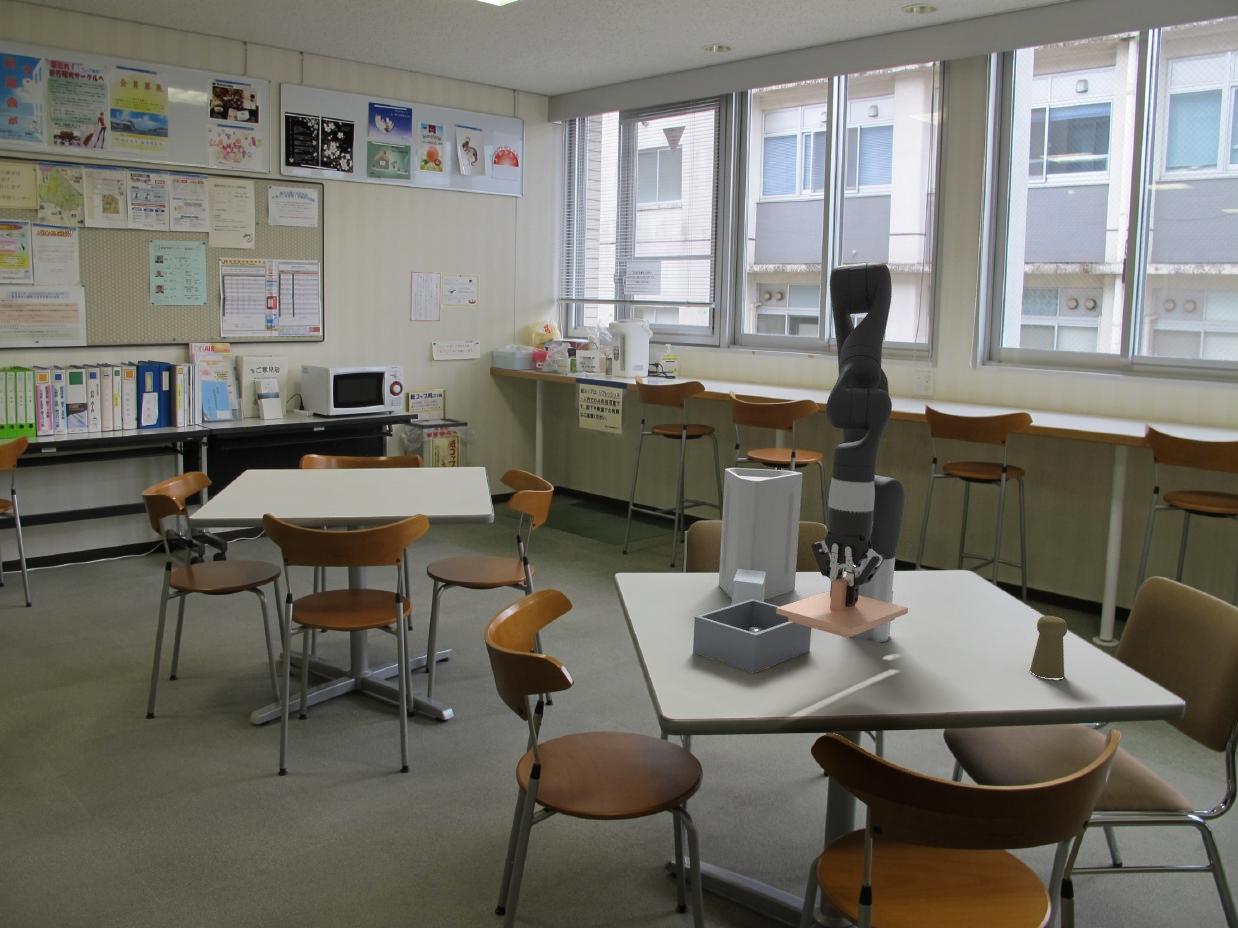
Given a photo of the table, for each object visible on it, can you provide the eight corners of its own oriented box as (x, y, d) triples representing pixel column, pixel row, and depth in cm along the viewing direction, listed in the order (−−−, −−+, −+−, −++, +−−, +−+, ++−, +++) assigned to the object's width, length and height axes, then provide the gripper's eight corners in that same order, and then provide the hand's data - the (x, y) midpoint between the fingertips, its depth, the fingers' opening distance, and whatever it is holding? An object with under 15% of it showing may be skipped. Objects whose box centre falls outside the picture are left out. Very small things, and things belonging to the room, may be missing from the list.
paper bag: (744, 576, 247) (751, 464, 243) (796, 589, 237) (803, 473, 233) (697, 590, 233) (703, 472, 228) (749, 605, 223) (757, 481, 219)
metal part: (754, 640, 196) (754, 626, 195) (766, 644, 193) (767, 629, 193) (744, 644, 193) (745, 629, 193) (757, 648, 191) (758, 633, 191)
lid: (834, 600, 184) (837, 562, 183) (906, 619, 174) (910, 579, 173) (775, 620, 171) (778, 579, 170) (850, 642, 161) (853, 598, 160)
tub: (749, 637, 201) (752, 598, 199) (809, 655, 191) (812, 615, 190) (692, 657, 188) (694, 616, 186) (753, 678, 178) (755, 635, 177)
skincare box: (760, 632, 204) (763, 583, 202) (728, 629, 205) (731, 580, 204) (763, 617, 214) (766, 570, 212) (733, 615, 215) (736, 567, 214)
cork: (1061, 683, 182) (1068, 624, 180) (1026, 675, 185) (1032, 618, 183) (1066, 673, 187) (1073, 616, 185) (1032, 666, 190) (1038, 610, 188)
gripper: (899, 509, 167) (890, 609, 170) (828, 496, 177) (820, 591, 179) (876, 514, 162) (867, 618, 165) (804, 501, 171) (797, 599, 174)
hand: (843, 603), depth 172 cm, fingers closed on lid
